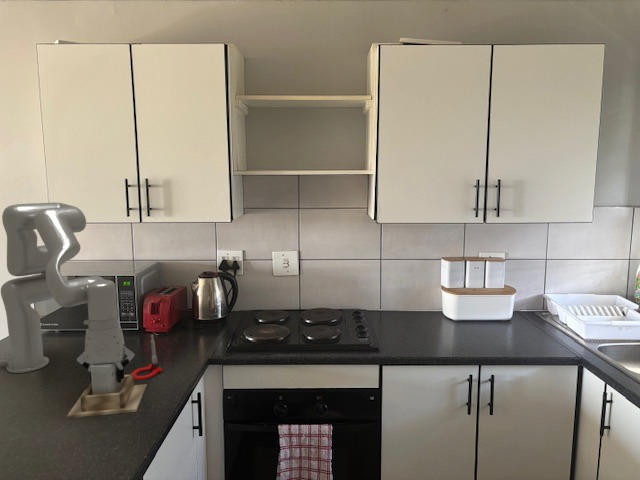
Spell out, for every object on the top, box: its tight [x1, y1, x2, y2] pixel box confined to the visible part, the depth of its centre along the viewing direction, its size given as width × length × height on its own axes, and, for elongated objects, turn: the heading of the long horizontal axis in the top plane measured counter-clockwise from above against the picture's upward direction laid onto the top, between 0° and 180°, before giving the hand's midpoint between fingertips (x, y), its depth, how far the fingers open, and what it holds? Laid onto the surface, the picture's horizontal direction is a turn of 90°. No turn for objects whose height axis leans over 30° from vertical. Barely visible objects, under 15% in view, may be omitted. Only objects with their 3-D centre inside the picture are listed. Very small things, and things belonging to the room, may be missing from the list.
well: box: [66, 373, 147, 419], centre depth 136 cm, size 18×16×5 cm
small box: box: [90, 363, 123, 395], centre depth 136 cm, size 8×6×10 cm
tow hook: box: [130, 334, 164, 381], centre depth 154 cm, size 8×13×9 cm
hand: (107, 381), depth 136 cm, fingers closed on small box, 6 cm apart
